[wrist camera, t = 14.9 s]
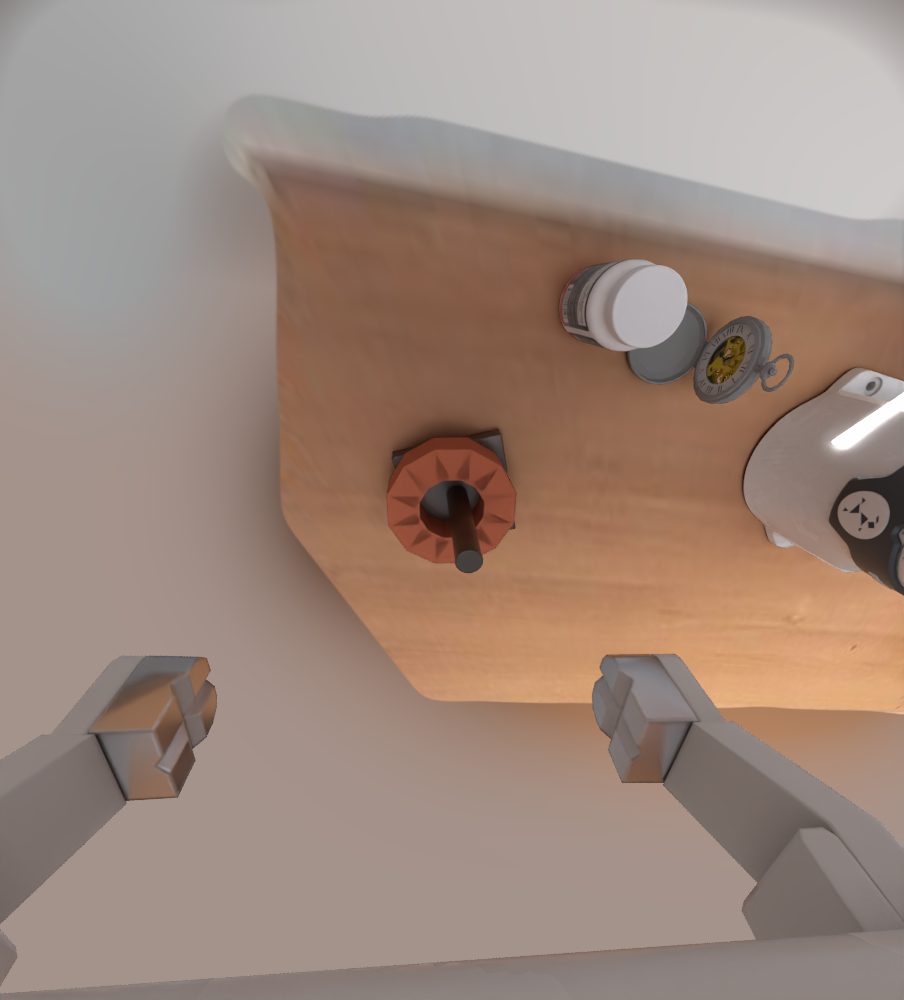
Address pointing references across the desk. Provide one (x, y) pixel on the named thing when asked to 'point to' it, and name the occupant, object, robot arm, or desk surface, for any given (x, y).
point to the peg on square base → (460, 505)
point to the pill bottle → (623, 304)
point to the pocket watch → (711, 357)
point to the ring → (446, 464)
